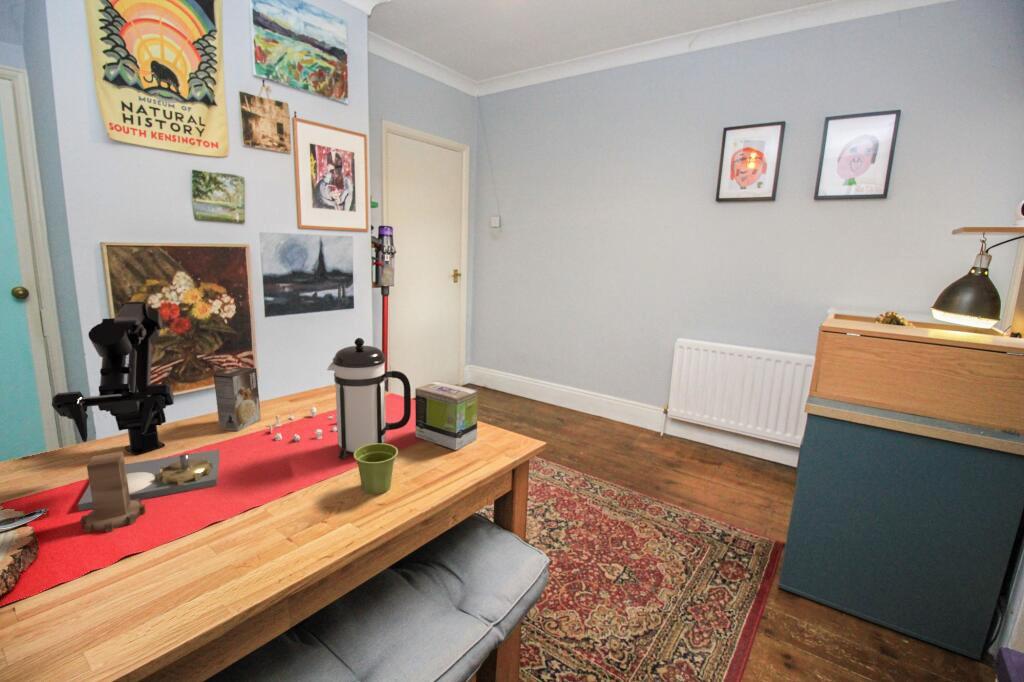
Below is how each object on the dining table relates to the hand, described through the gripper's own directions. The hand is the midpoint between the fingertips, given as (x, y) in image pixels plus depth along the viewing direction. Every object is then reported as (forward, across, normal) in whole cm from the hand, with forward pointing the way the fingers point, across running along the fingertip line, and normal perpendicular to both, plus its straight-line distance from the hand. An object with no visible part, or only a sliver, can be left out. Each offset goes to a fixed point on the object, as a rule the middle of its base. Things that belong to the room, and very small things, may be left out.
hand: (114, 437), depth 94 cm
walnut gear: (+15, 0, -4) cm, 16 cm away
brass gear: (+7, -11, -10) cm, 16 cm away
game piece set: (-6, -38, -26) cm, 46 cm away
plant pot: (+23, -48, +4) cm, 53 cm away
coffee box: (-14, -21, -33) cm, 42 cm away
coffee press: (+8, -50, -11) cm, 52 cm away
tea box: (+10, -72, -9) cm, 73 cm away
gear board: (+6, -5, -14) cm, 15 cm away
